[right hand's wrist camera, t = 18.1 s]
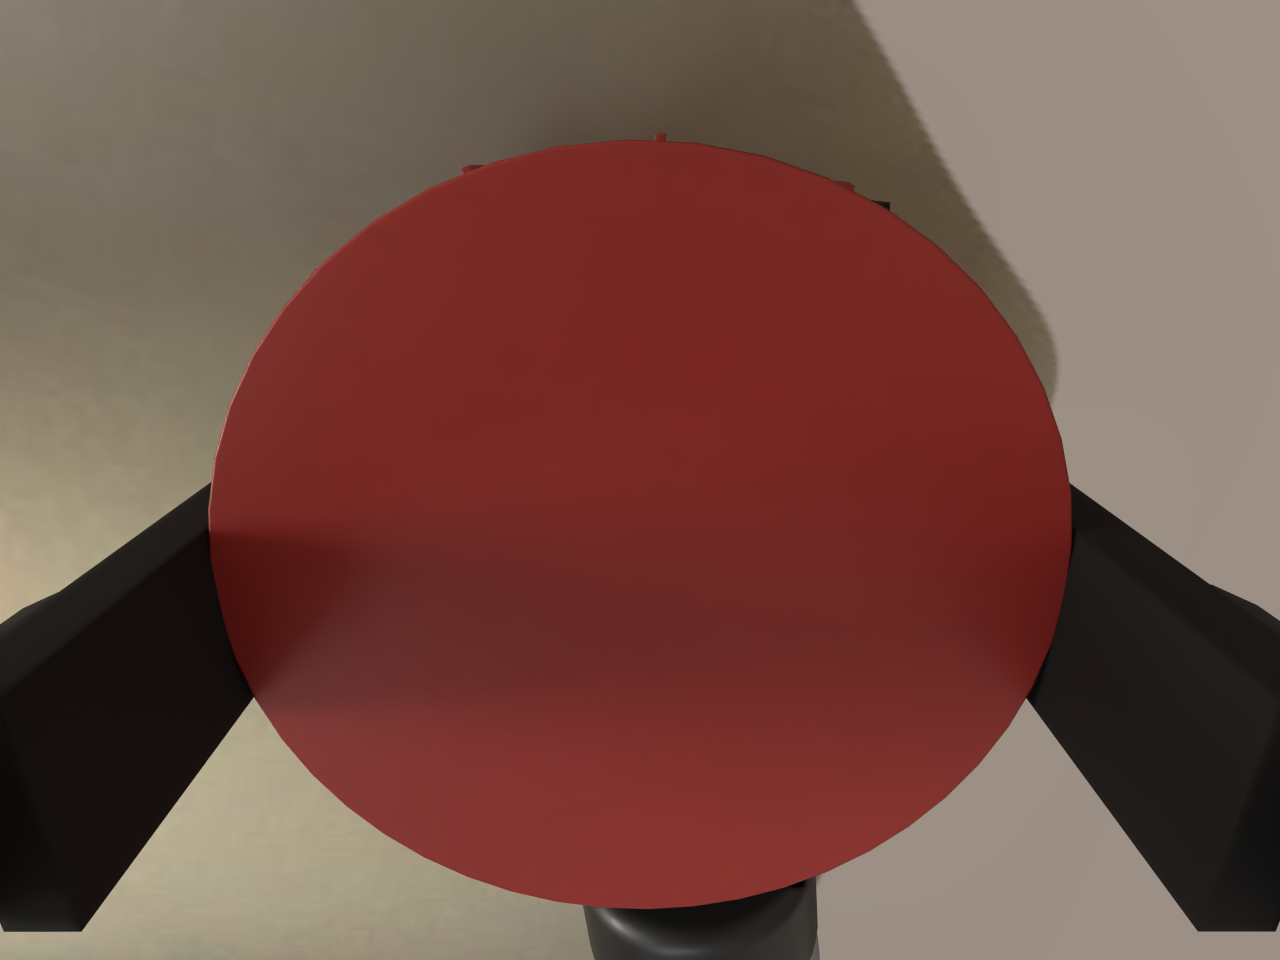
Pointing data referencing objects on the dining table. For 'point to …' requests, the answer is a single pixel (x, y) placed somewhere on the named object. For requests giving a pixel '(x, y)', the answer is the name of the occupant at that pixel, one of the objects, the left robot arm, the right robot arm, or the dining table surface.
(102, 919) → the dining table surface
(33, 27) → the dining table surface
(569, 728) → the lid
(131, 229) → the dining table surface
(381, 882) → the dining table surface
